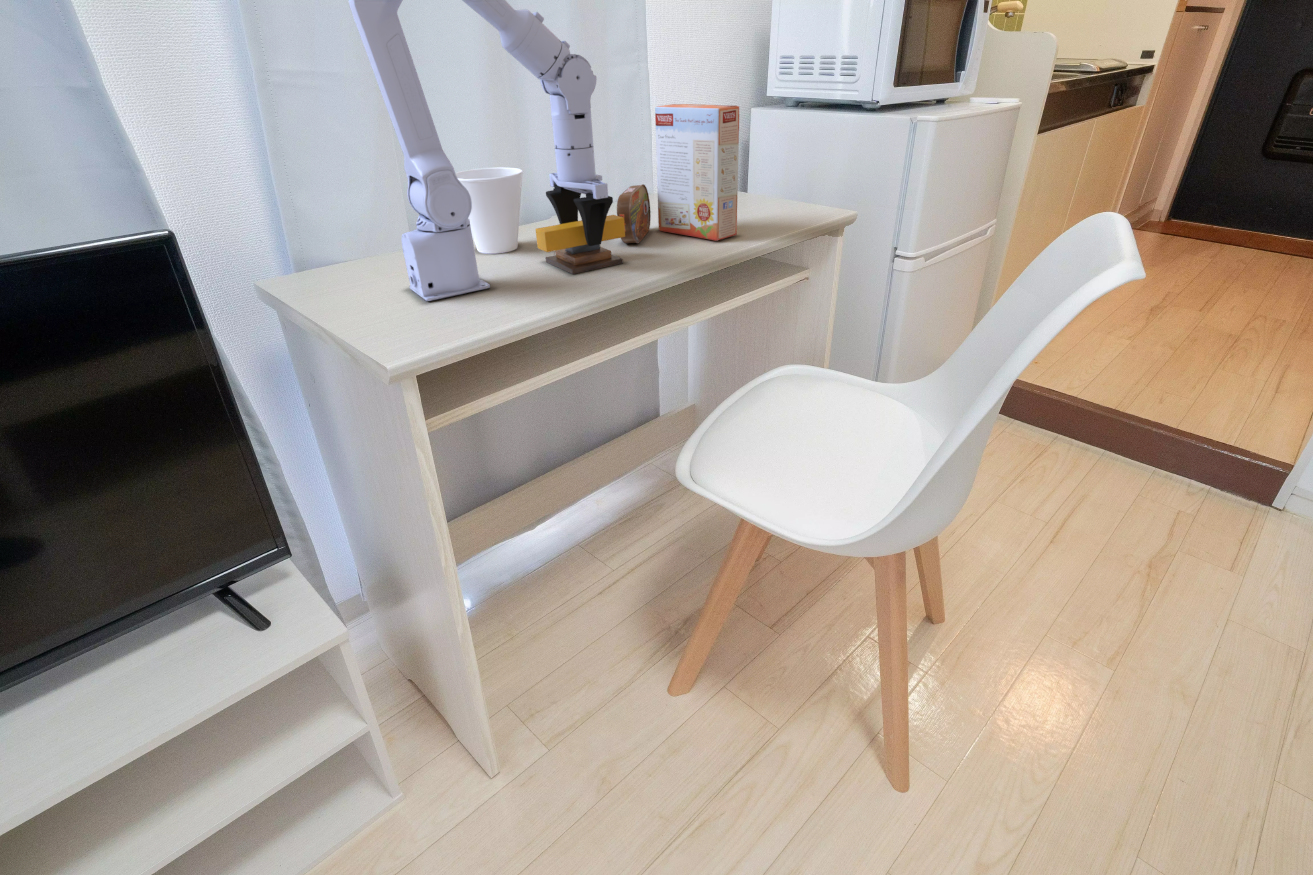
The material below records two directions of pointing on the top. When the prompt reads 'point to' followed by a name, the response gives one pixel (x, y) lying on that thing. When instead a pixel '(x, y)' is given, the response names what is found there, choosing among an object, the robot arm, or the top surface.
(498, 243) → the cup
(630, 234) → the tin
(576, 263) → the brown stepped stand
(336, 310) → the top surface
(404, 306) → the top surface
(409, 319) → the top surface
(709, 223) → the cracker box
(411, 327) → the top surface
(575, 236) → the bar
